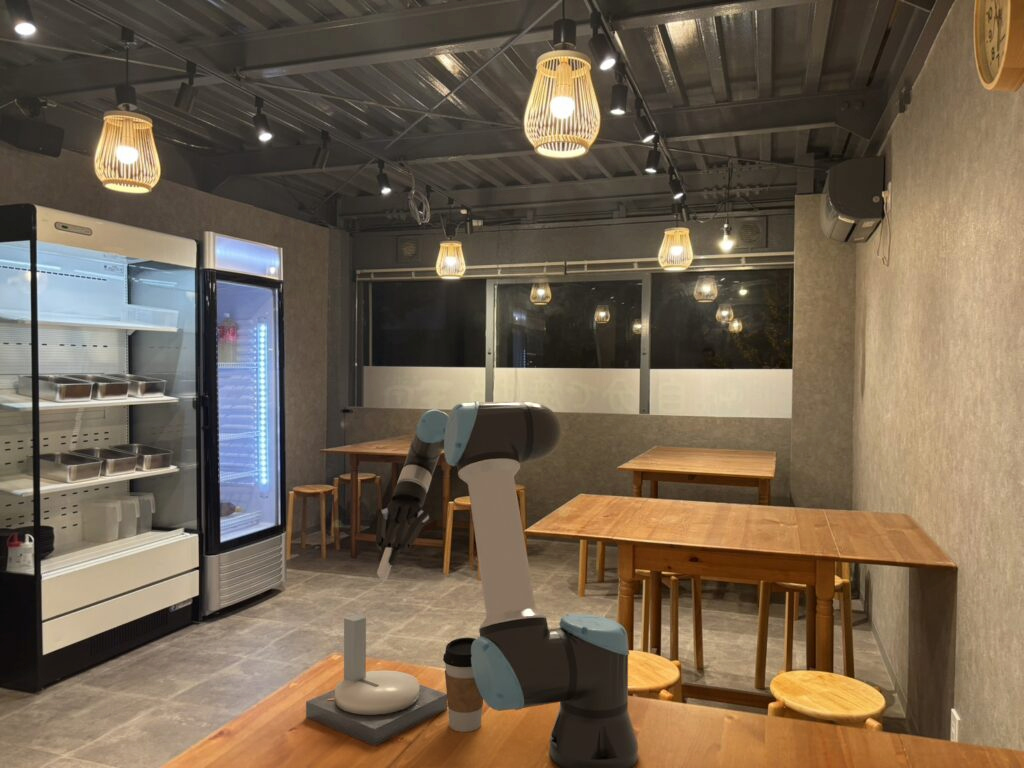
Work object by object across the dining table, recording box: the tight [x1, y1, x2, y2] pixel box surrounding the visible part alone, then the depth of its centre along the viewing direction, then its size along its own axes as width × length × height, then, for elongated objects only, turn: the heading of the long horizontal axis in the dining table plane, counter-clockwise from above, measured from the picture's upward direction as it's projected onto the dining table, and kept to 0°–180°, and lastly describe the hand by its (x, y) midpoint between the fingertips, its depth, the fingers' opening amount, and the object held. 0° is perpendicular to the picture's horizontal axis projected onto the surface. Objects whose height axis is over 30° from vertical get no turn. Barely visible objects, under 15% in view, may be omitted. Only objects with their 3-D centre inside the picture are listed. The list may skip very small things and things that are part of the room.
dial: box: [334, 614, 420, 715], centre depth 147 cm, size 16×16×14 cm
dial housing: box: [305, 684, 448, 747], centre depth 147 cm, size 19×19×3 cm
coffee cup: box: [442, 637, 484, 733], centre depth 142 cm, size 8×8×15 cm
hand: (381, 576), depth 165 cm, fingers closed
